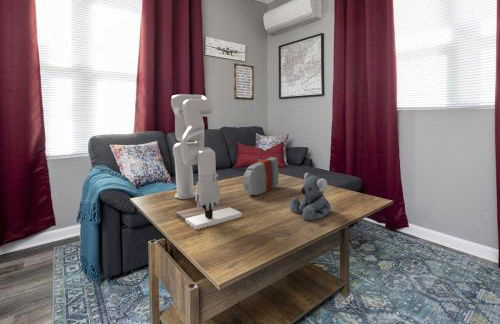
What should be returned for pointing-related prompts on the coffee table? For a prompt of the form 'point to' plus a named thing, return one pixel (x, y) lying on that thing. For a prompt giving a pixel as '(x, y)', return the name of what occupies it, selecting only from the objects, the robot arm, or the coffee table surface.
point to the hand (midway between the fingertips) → (208, 217)
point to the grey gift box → (261, 176)
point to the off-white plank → (213, 218)
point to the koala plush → (312, 199)
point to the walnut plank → (197, 211)
